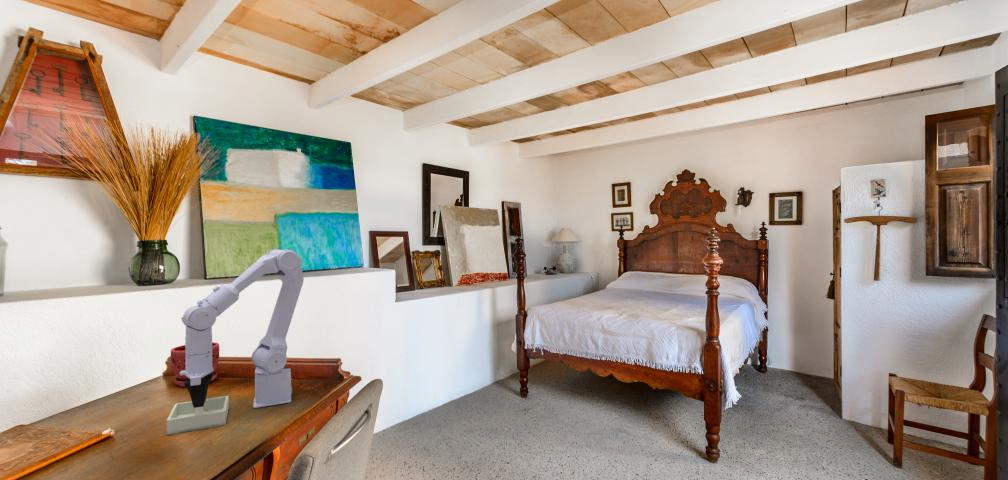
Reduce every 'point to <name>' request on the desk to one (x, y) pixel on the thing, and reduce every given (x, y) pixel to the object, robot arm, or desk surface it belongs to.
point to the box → (198, 416)
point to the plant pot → (177, 366)
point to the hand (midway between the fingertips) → (199, 405)
